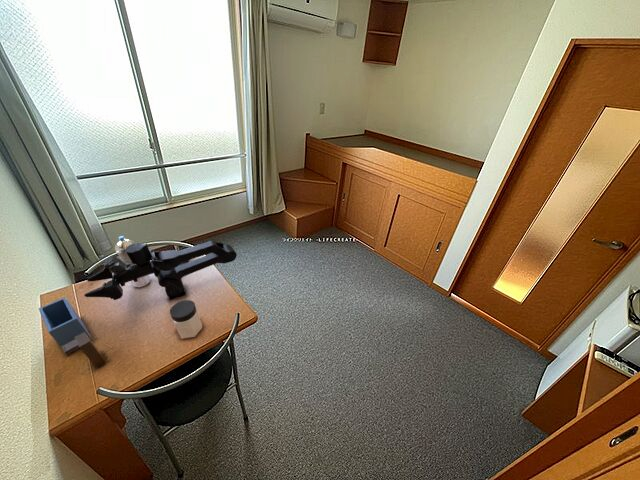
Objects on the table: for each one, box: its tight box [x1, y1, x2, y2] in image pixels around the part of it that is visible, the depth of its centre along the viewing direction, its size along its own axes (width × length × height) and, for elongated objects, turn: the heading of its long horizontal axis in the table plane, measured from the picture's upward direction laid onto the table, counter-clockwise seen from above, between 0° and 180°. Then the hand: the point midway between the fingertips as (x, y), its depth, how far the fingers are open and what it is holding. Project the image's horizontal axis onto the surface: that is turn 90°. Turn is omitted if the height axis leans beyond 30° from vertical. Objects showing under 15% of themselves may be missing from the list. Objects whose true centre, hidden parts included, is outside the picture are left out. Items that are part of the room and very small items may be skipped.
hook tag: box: [61, 332, 107, 369], centre depth 80 cm, size 6×5×12 cm
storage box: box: [38, 296, 94, 354], centre depth 88 cm, size 7×14×12 cm, turn 51°
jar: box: [169, 299, 203, 340], centre depth 93 cm, size 9×8×12 cm
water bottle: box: [114, 235, 151, 288], centre depth 108 cm, size 7×7×25 cm
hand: (86, 287), depth 89 cm, fingers open, 9 cm apart
